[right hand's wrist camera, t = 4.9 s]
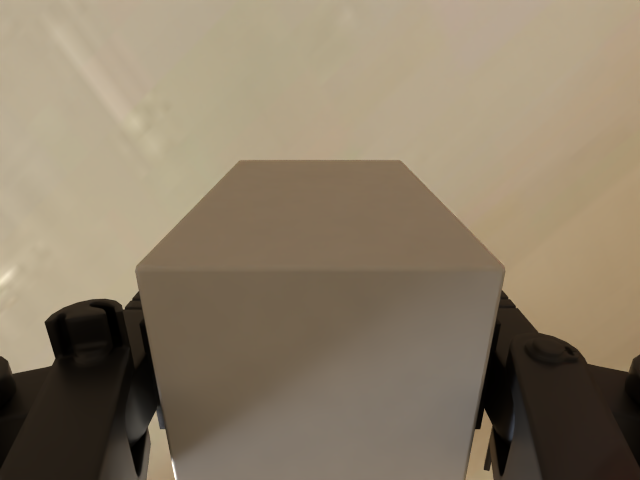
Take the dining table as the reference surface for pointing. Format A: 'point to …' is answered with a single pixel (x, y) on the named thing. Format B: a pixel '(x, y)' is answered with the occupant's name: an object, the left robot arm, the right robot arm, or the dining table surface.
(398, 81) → the dining table surface
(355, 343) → the bar
